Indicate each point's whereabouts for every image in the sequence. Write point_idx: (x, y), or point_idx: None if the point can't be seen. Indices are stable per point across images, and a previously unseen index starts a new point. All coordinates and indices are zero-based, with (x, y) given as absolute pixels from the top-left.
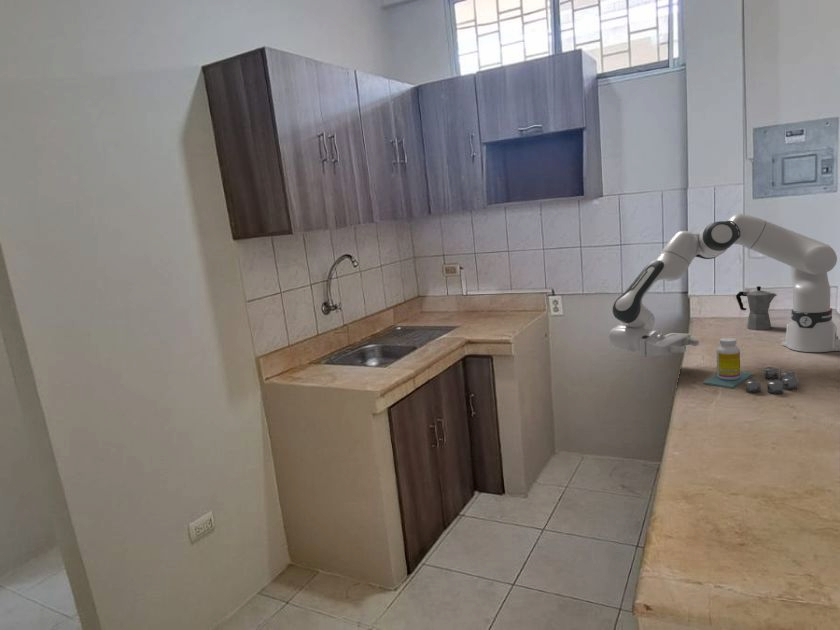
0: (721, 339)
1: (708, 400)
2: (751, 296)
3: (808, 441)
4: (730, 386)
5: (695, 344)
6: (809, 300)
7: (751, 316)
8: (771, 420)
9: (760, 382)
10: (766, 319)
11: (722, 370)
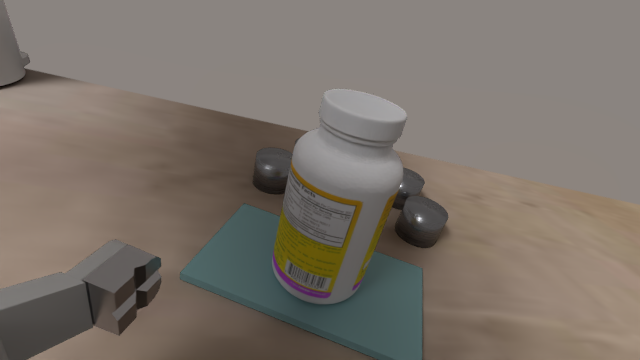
0: (379, 116)
1: (597, 353)
2: None
3: (611, 211)
4: (421, 275)
5: (149, 289)
6: None
7: None
8: (580, 234)
9: (423, 197)
10: None
11: (370, 259)
